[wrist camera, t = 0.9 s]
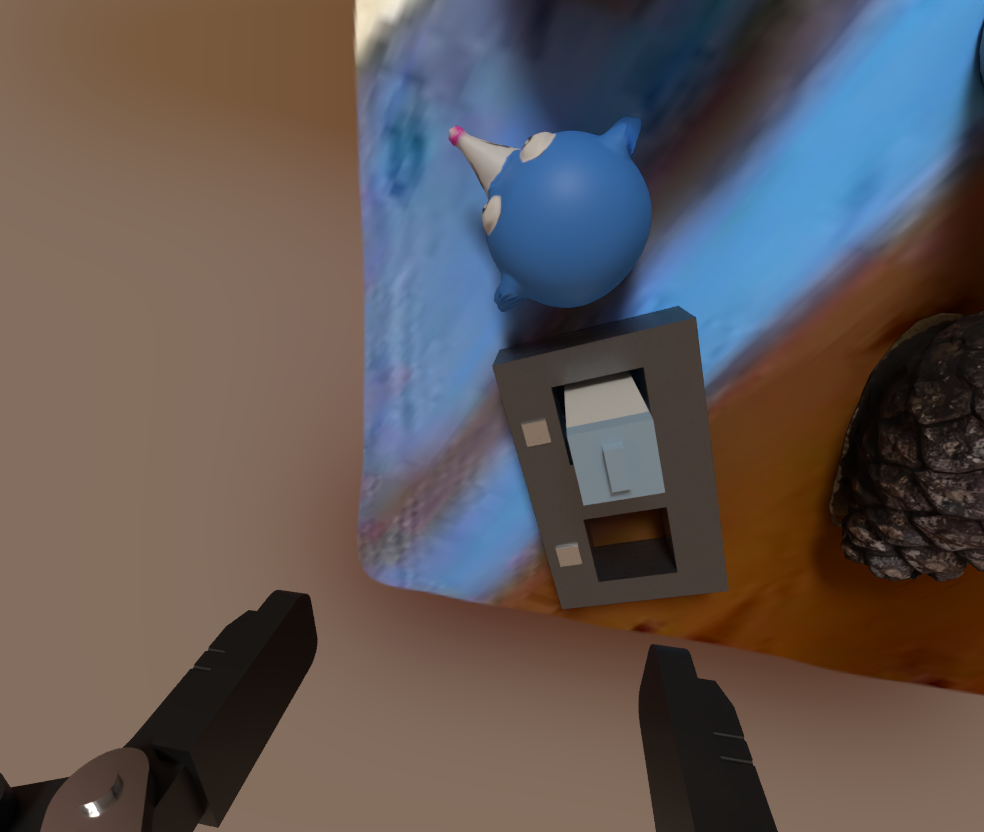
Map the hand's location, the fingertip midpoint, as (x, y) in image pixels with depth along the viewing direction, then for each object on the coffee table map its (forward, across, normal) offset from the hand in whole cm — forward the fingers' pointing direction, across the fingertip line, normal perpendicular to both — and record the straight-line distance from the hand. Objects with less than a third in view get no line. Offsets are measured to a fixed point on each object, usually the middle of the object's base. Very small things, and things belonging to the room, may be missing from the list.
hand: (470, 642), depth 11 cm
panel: (+23, -6, +7) cm, 25 cm away
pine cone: (+24, -26, +3) cm, 35 cm away
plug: (+23, -5, +2) cm, 24 cm away
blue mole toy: (+24, 0, -10) cm, 26 cm away
